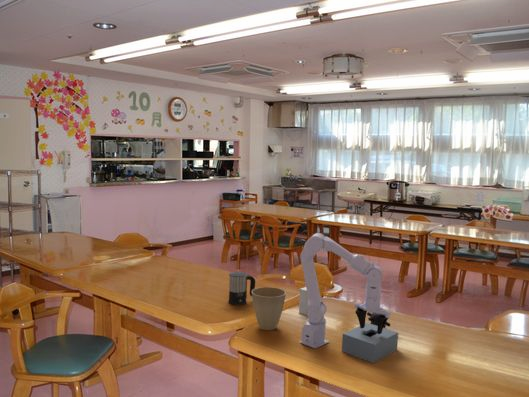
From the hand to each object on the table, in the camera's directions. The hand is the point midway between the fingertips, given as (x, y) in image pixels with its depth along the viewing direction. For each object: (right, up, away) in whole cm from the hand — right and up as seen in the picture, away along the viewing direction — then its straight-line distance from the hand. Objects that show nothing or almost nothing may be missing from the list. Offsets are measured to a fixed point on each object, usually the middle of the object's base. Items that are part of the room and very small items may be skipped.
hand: (370, 330), depth 180 cm
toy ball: (+9, -6, +25) cm, 27 cm away
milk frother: (-56, -1, +57) cm, 80 cm away
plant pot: (-40, -5, +21) cm, 46 cm away
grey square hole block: (0, -8, +1) cm, 8 cm away
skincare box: (-22, -4, +42) cm, 47 cm away
